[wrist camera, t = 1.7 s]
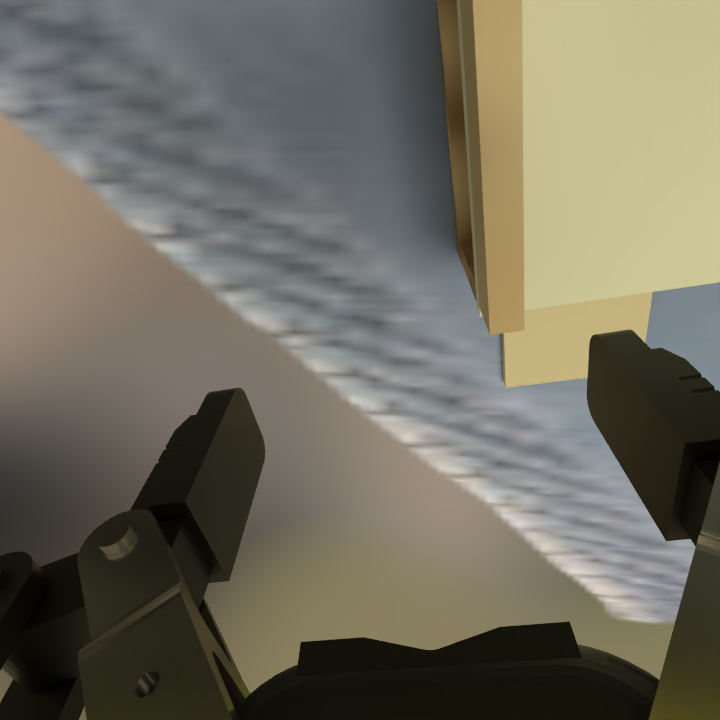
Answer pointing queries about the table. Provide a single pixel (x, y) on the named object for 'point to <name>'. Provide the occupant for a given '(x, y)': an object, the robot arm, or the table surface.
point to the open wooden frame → (456, 132)
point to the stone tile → (567, 337)
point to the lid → (590, 149)
